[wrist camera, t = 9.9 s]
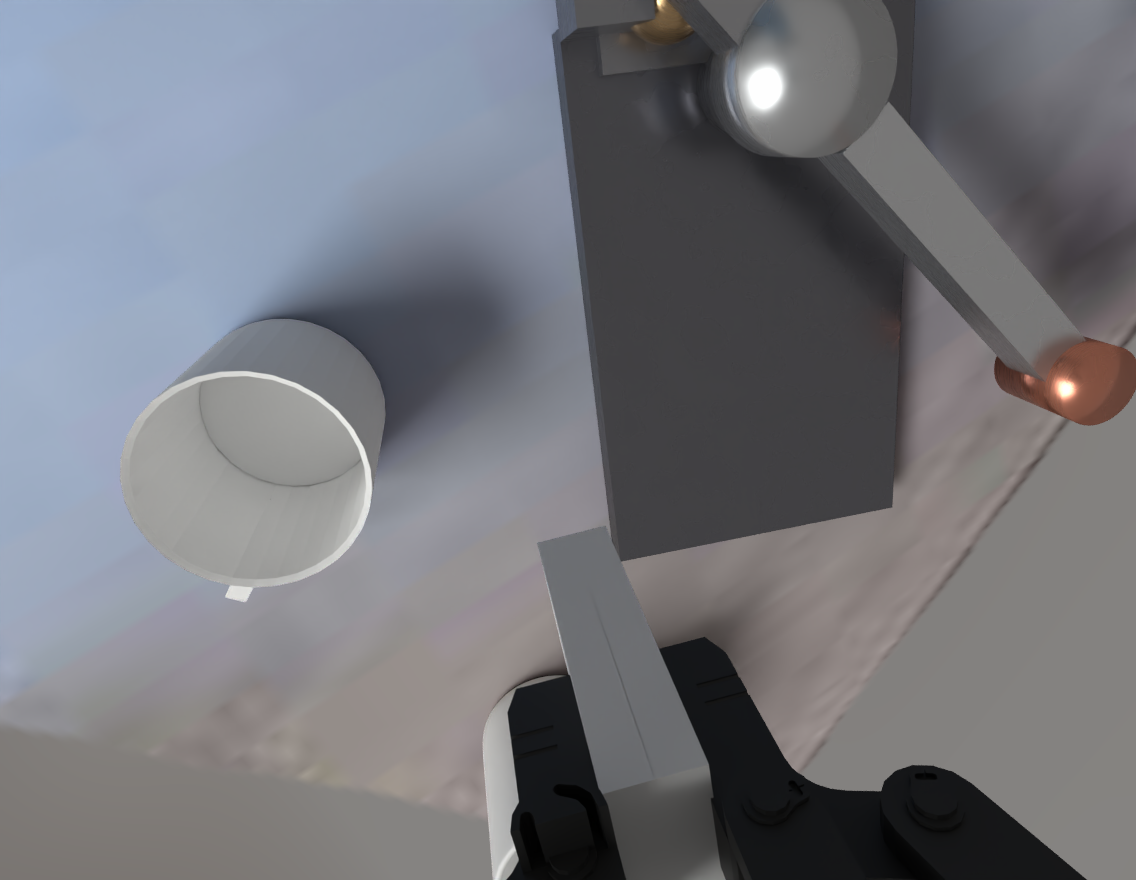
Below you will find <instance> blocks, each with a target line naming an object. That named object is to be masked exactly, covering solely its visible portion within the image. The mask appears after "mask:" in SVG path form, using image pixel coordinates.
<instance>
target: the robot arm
mask: <svg viewBox="0 0 1136 880" xmlns="http://www.w3.org/2000/svg"><path fill="white" fill-rule="evenodd" d="M537 544H538V548H539V553H540V557H541V561H542V565H543V570H544V574H545V578H546V582H547V587H548V591H549V595H550V599H551V604H552V608H553V612H554V616H555V621H556V625H557V629H558V633H559V638H560V642H561V646H562V650H563V654H564V658H565V662H566V666H567V670H568V674H569V675H566V676H563V677H559V678H555V679H551V680H547V681H544V682H540V683H536V684H532V685H529V686H525V687H521V688H517V689H516V690H515V693H514V696H513V698H512V701H511V704H510V707H509V709H508V712H507V714H508V722H509V730H510V737H511V745H512V753H513V759H514V768H515V776H516V784H517V792H518V799H519V803H518V804H517V806H516V808H515V810H514V812H513V814H512V819H511V829H510V833H511V836H512V839H513V843H514V846H515V849H516V852H517V855H518V859H519V861H518V863H517V864H516V866H515V868H514V870H513V872H512V873H511V875H510V876H509V877H508V878H507V879H506V880H725V879H726V880H1086V879H1085V878H1084V877H1083V876H1082V875H1080V874H1079V873H1078V872H1077V871H1076V870H1075V869H1073V868H1072V867H1071V866H1070V865H1069V864H1067V863H1066V862H1065V861H1064V860H1063V859H1061V858H1060V857H1059V856H1058V855H1057V854H1055V853H1054V852H1053V851H1052V850H1051V849H1049V848H1048V847H1047V846H1046V845H1044V844H1043V843H1042V842H1041V841H1040V840H1039V839H1037V838H1036V837H1035V836H1034V835H1033V834H1031V833H1030V832H1029V831H1028V830H1027V829H1025V828H1024V827H1023V826H1022V825H1020V824H1019V823H1018V822H1017V821H1016V820H1015V819H1013V818H1012V817H1011V816H1010V815H1009V814H1007V813H1006V812H1005V811H1004V810H1003V809H1002V808H1000V807H999V806H998V805H997V804H996V803H994V802H993V801H992V800H991V799H989V798H988V797H987V796H986V795H985V794H984V793H982V792H981V791H980V790H978V788H976V787H975V786H974V785H973V784H972V783H970V782H968V781H967V780H965V779H964V778H962V777H960V776H959V775H957V774H956V773H954V772H952V771H948V770H945V769H941V768H938V767H935V766H922V765H921V766H920V765H918V766H917V765H912V766H909V767H906V768H903V769H900V770H897V771H895V772H894V773H893V774H892V775H891V776H890V777H889V778H887V779H886V780H885V781H884V784H883V787H882V791H879V792H877V791H845V790H836V789H830V788H826V787H823V786H820V785H817V784H815V783H813V782H811V781H809V780H807V779H806V778H805V777H804V776H802V775H801V774H799V773H797V772H796V771H795V770H794V769H793V768H792V767H791V766H790V765H789V763H788V762H787V761H786V759H785V758H784V756H783V754H782V753H781V751H780V749H779V747H778V745H777V744H776V742H775V740H774V738H773V736H772V735H771V733H770V731H769V729H768V727H767V726H766V724H765V722H764V720H763V719H762V717H761V715H760V713H759V711H758V710H757V708H756V706H755V704H754V702H753V701H752V699H751V697H750V695H748V693H747V690H746V688H745V686H744V684H743V683H742V681H741V679H740V677H738V674H737V672H736V670H735V668H734V667H733V665H732V663H731V661H730V659H729V658H728V656H727V654H726V652H724V651H723V650H722V649H720V648H719V647H718V646H716V645H715V644H713V643H712V642H711V641H709V640H708V639H707V638H705V637H703V638H699V639H695V640H691V641H688V642H684V643H680V644H676V645H672V646H669V647H665V648H661V649H659V648H658V646H657V644H656V642H655V639H654V637H653V635H652V632H651V630H650V628H649V625H648V623H647V621H646V618H645V616H644V614H643V612H642V609H641V607H640V605H639V602H638V600H637V598H636V595H635V593H634V591H633V588H632V586H631V584H630V582H629V579H628V577H627V575H626V572H625V570H624V568H623V565H622V563H621V561H620V559H619V556H618V554H617V552H616V549H615V547H614V545H613V542H612V540H611V538H610V535H609V533H608V531H607V529H606V526H603V527H599V528H595V529H591V530H587V531H583V532H579V533H575V534H571V535H567V536H563V537H559V538H555V539H551V540H547V541H543V542H539V543H537Z"/></svg>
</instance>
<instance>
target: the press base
mask: <svg viewBox="0 0 1136 880" xmlns="http://www.w3.org/2000/svg"><path fill="white" fill-rule="evenodd" d="M882 2H883V3H884V5H885V6H886V8H887V10H888V12H889V14H890V17H891V20H892V23H893V26H894V30H895V34H896V40H897V66H896V74H895V78H894V82H893V86H892V89H891V92H890V95H889V98H888V100H887V102H888V101H889V103H890V104H891V105H892V106H893V107H894V109H895V110H896V111H897V112H898V113H899V115H900V116H901V117H902V118H903V119H904V121H905V122H906V123H907V124H908V126H909V127H910V106H911V84H912V62H913V40H914V18H915V0H882ZM556 8H557V17H558V25H559V29H558V30H557V31H556V32H555V33H554V34H553V35H552V39H553V48H554V56H555V65H556V73H557V82H558V90H559V98H560V107H561V115H562V124H563V132H564V141H565V149H566V157H567V166H568V174H569V183H570V191H571V200H572V208H573V216H574V225H575V233H576V242H577V250H578V259H579V267H580V275H581V284H582V292H583V301H584V309H585V318H586V326H587V334H588V343H589V351H590V360H591V368H592V377H593V385H594V393H595V402H596V410H597V419H598V427H599V436H600V444H601V452H602V461H603V469H604V478H605V486H606V495H607V503H608V511H609V520H610V528H611V537H612V542H613V545H614V547H615V549H616V552H617V554H618V556H619V559H620V561H626V560H631V559H636V558H641V557H646V556H651V555H656V554H661V553H666V552H671V551H676V550H681V549H686V548H691V547H696V546H701V545H706V544H711V543H716V542H721V541H726V540H731V539H736V538H741V537H746V536H751V535H756V534H761V533H766V532H771V531H776V530H781V529H786V528H791V527H796V526H801V525H806V524H811V523H816V522H821V521H826V520H831V519H836V518H841V517H846V516H851V515H856V514H861V513H866V512H871V511H876V510H881V509H886V508H891V507H892V501H893V479H894V457H895V435H896V413H897V391H898V369H899V347H900V325H901V303H902V281H903V259H904V253H903V251H902V250H901V249H900V248H899V247H898V246H897V245H896V244H895V243H894V242H893V240H892V239H891V238H890V237H889V236H888V235H887V234H886V233H885V232H884V231H883V229H882V228H881V227H880V226H879V225H878V224H877V223H876V222H875V221H874V219H873V218H872V217H871V216H870V215H869V214H868V213H867V212H866V211H865V210H864V208H863V207H862V206H861V205H860V204H859V203H858V202H857V201H856V200H855V199H854V197H853V196H852V195H851V194H850V193H849V192H848V191H847V190H846V189H845V188H844V186H843V185H842V184H841V183H840V182H839V181H838V180H837V179H836V178H835V177H834V175H833V174H832V173H831V172H830V171H829V170H828V169H827V168H826V167H825V165H824V164H823V163H822V162H821V161H820V160H819V159H818V158H817V157H816V158H797V157H770V156H763V155H759V154H756V153H753V152H751V151H749V150H747V149H745V148H743V147H742V146H741V145H739V144H738V143H737V142H736V141H734V140H733V139H732V138H731V137H730V136H729V134H728V133H727V132H726V131H725V129H724V128H723V126H722V124H721V123H720V121H719V119H718V116H717V114H716V112H715V109H714V105H713V102H712V96H711V88H710V72H711V65H712V59H713V55H714V51H713V50H712V49H711V48H710V47H709V46H708V45H707V44H706V43H705V42H704V41H703V39H702V38H701V37H700V36H699V35H698V34H697V33H696V32H695V31H694V30H693V28H692V27H691V26H690V25H689V24H688V23H687V22H686V21H685V20H684V19H683V18H682V16H681V15H680V14H679V13H678V12H677V11H676V10H675V9H674V8H673V7H672V5H671V4H670V3H669V2H668V1H667V0H556Z"/></svg>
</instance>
